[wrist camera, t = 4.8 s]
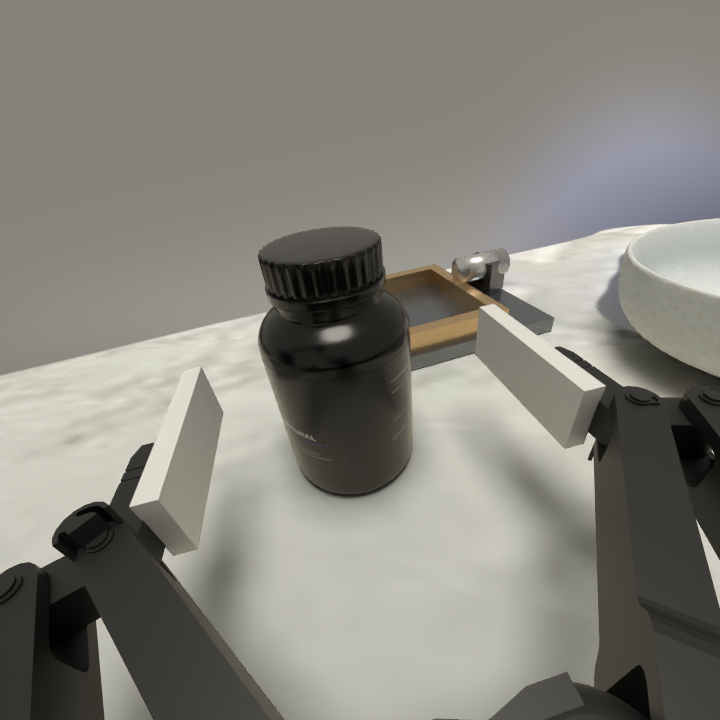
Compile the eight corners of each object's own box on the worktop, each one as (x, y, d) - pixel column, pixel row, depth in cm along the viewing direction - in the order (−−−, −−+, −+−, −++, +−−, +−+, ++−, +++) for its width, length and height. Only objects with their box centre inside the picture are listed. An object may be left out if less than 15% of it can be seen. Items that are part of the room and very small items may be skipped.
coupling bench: (305, 400, 24) (289, 343, 21) (286, 322, 34) (273, 278, 31) (553, 330, 27) (567, 273, 24) (467, 279, 38) (469, 235, 35)
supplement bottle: (279, 492, 18) (186, 277, 11) (318, 404, 23) (272, 224, 16) (409, 509, 16) (393, 269, 9) (418, 410, 21) (413, 213, 15)
